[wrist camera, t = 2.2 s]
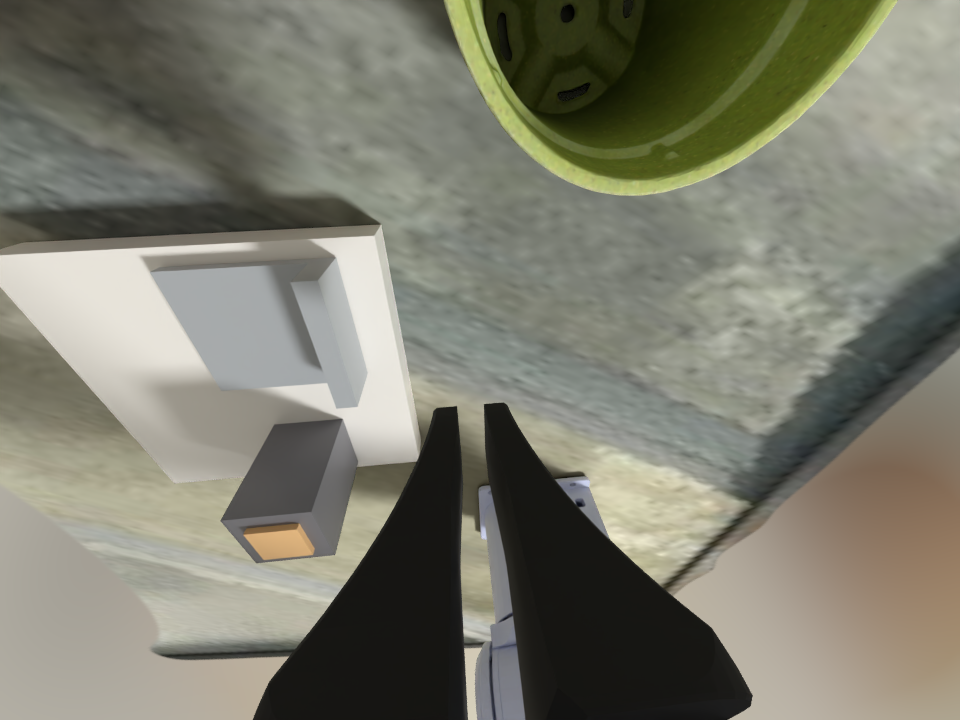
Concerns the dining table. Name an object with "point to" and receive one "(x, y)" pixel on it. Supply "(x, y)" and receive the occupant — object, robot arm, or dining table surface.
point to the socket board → (177, 364)
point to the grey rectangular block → (295, 492)
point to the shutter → (270, 324)
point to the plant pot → (656, 79)
